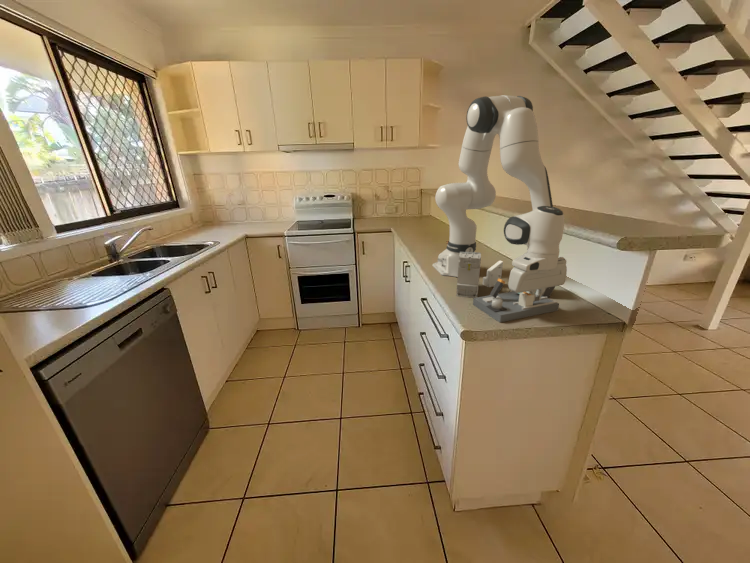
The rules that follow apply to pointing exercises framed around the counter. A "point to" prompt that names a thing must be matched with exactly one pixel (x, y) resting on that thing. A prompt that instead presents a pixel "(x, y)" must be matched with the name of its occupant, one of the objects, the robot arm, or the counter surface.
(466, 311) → the counter surface
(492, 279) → the white angled block
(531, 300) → the cream cube orange stripe
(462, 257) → the circuit breaker
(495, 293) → the toggle lever
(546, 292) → the electrical switch
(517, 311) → the panel
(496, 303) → the button
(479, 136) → the robot arm
